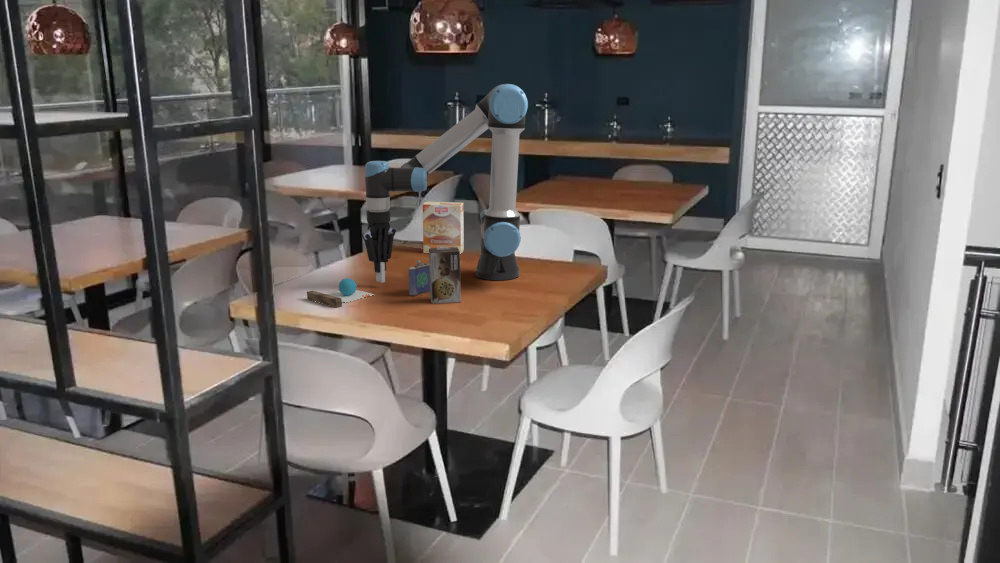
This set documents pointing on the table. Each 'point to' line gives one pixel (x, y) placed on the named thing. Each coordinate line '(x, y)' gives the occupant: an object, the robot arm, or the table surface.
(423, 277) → the flask
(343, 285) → the ball
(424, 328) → the table surface
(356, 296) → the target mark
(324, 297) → the strip
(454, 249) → the cookie box
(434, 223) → the coffeecake box
